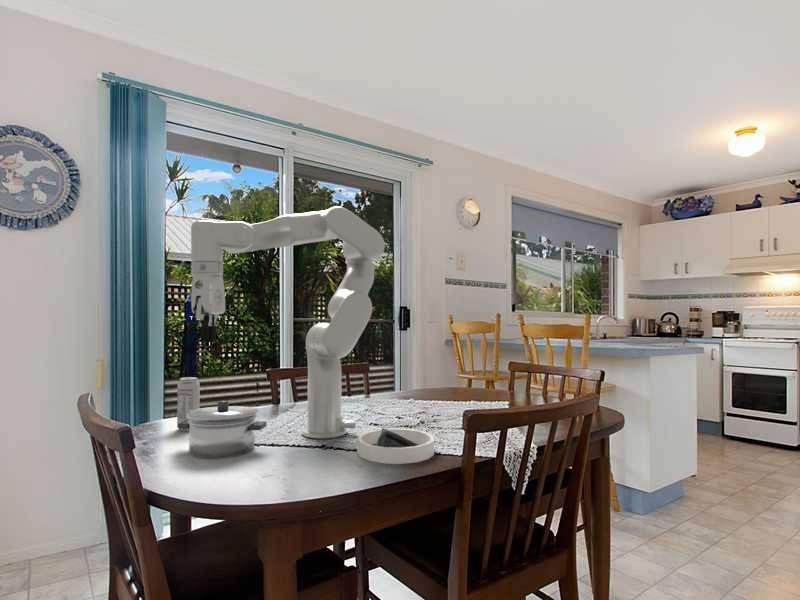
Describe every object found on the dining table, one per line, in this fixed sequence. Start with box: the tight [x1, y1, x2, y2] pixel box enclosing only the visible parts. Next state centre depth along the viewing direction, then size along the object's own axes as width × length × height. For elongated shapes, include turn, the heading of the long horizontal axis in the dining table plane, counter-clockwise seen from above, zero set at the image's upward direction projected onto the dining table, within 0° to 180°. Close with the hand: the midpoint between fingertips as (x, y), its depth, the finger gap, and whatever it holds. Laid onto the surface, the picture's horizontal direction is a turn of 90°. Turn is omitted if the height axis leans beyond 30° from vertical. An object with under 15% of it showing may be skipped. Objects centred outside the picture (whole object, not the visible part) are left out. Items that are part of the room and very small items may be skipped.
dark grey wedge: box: [375, 427, 419, 448], centre depth 121 cm, size 10×7×12 cm
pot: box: [177, 415, 267, 460], centre depth 127 cm, size 21×18×8 cm
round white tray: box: [356, 427, 435, 465], centre depth 124 cm, size 19×19×4 cm
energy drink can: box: [176, 376, 201, 432], centre depth 147 cm, size 6×6×15 cm
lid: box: [186, 400, 259, 421], centre depth 127 cm, size 17×18×4 cm
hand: (208, 341), depth 127 cm, fingers closed
